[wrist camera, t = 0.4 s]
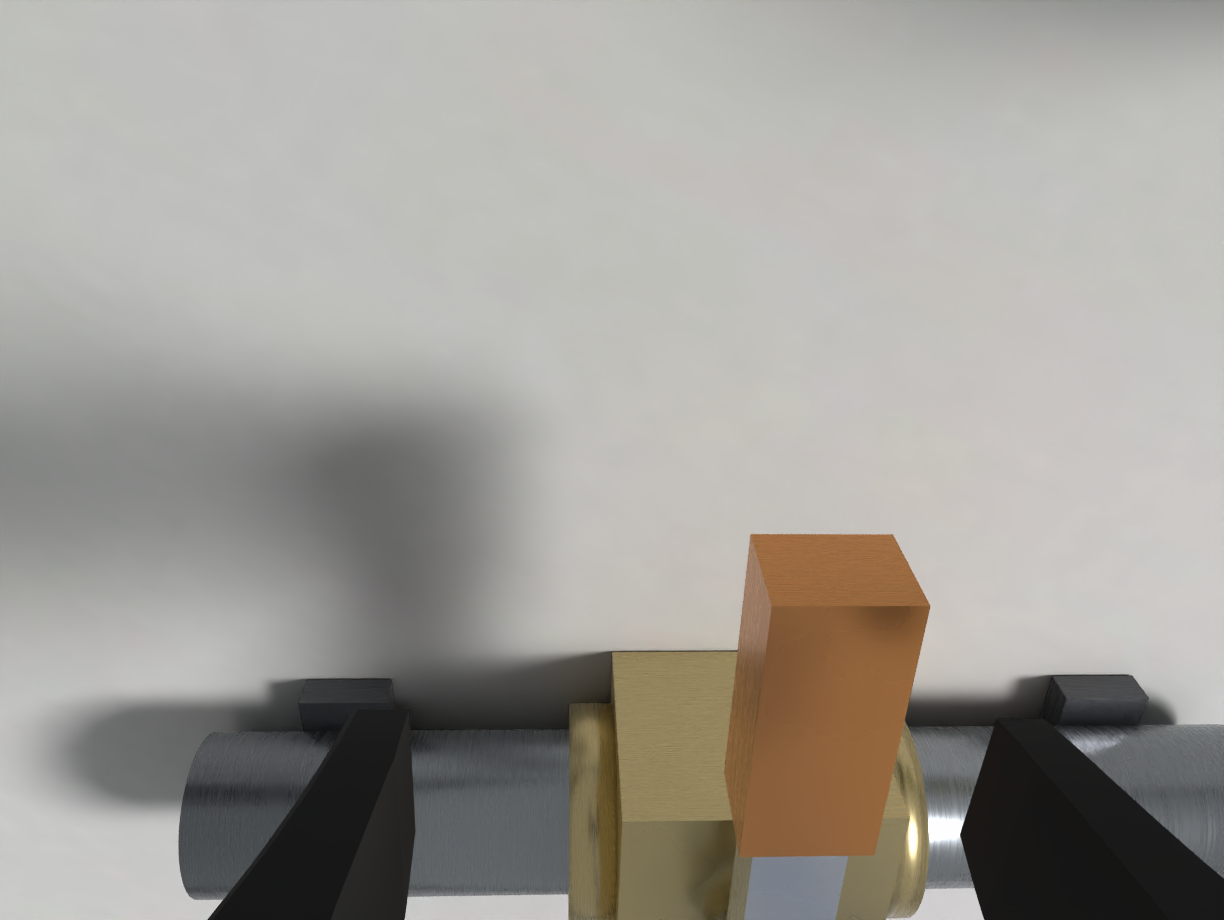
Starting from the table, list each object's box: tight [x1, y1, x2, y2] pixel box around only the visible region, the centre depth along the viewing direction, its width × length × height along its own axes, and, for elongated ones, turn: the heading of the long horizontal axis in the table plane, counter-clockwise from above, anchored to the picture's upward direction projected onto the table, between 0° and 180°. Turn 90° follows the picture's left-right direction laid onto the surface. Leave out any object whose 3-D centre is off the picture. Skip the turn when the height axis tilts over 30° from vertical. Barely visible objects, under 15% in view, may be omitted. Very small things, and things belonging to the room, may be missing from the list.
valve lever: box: [715, 534, 930, 920], centre depth 17 cm, size 11×3×2 cm, turn 178°
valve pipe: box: [179, 652, 1224, 920], centre depth 23 cm, size 6×24×5 cm, turn 88°
